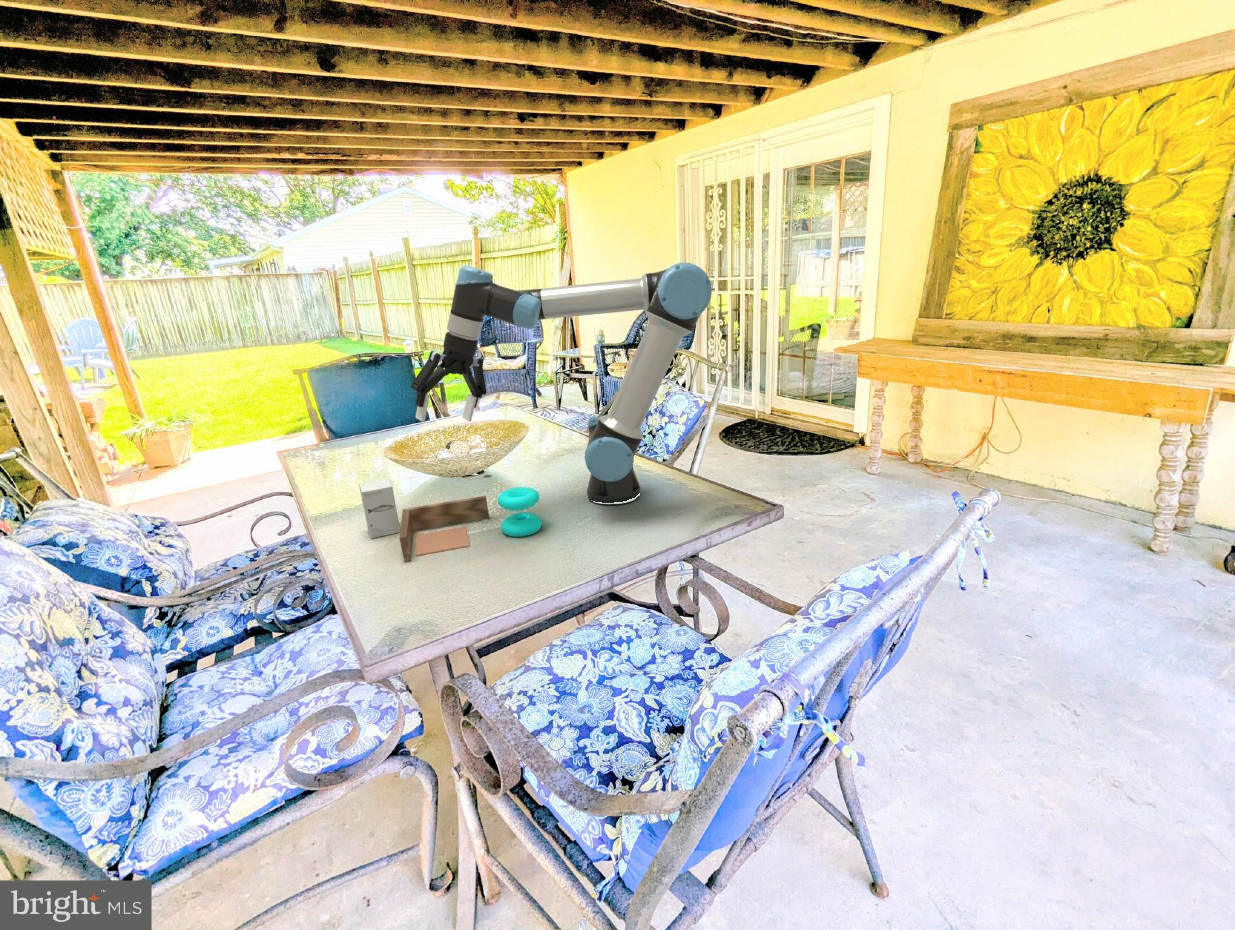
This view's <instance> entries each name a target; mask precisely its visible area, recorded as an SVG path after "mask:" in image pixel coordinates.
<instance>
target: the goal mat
mask: <svg viewBox="0 0 1235 930" xmlns="http://www.w3.org/2000/svg"><path fill="white" fill-rule="evenodd" d="M467 527H468V526H467V525H466V526H464V525H463V526H459V527H454V528H448V529H441V530H435V531H431V532H430V531H429V532H426V533H420V534H416V544H415V548H416V549H415V557H420V556H426V555H429V554H436V553H441V552H442V553H443V552H447V551H452V550H456V549H457V550H458V549H463V548H468V547H471V546H470V540H469V534H468V528H467Z"/></svg>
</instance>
